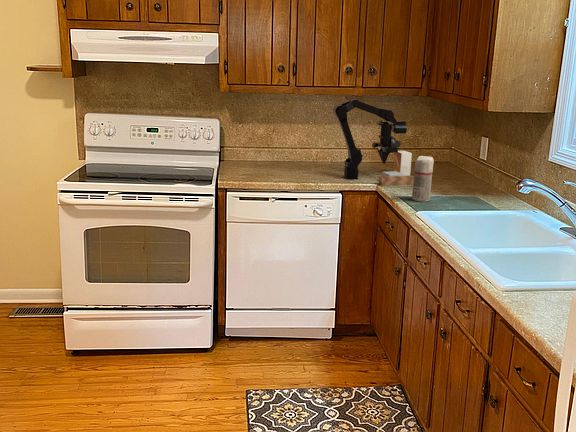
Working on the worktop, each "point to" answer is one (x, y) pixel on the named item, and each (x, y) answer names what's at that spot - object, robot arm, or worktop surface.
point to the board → (396, 180)
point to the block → (392, 173)
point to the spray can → (422, 178)
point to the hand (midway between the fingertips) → (383, 163)
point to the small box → (402, 162)
